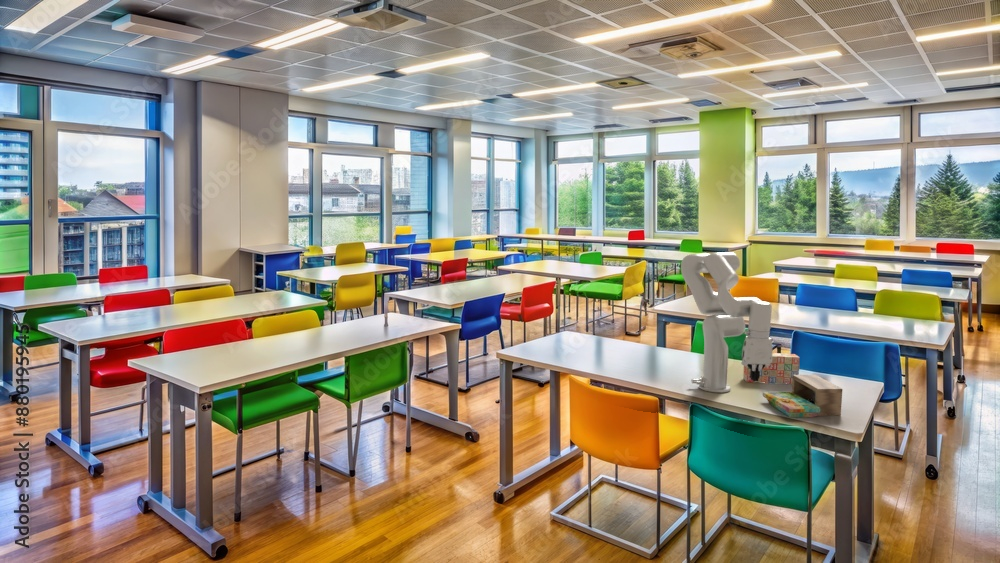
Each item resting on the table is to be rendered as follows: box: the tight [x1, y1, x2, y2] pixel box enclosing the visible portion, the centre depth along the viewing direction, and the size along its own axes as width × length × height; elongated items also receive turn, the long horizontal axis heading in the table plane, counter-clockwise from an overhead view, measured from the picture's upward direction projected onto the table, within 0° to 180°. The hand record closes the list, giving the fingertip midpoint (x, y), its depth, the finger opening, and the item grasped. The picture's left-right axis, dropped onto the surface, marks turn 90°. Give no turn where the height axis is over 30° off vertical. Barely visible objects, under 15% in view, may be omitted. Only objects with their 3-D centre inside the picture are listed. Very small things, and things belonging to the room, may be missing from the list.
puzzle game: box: [761, 391, 820, 418], centre depth 228 cm, size 12×5×20 cm
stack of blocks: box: [742, 352, 800, 385], centre depth 264 cm, size 21×6×12 cm, turn 82°
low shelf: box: [791, 374, 843, 416], centre depth 230 cm, size 9×19×10 cm, turn 0°
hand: (754, 380), depth 231 cm, fingers closed
